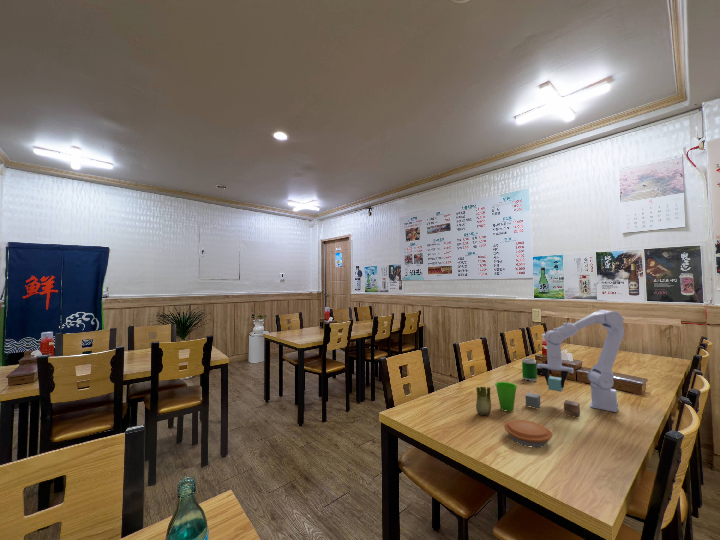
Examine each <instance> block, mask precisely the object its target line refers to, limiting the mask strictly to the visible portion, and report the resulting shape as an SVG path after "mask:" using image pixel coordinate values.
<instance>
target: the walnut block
mask: <svg viewBox="0 0 720 540" xmlns="http://www.w3.org/2000/svg"><path fill="white" fill-rule="evenodd" d="M580 406H581V405H580V402H578V401H572V400H567V399H565V400H564V402H563V415H564V414H566V415H565V416H567V415H570V416H569V417H572V416H575V417H574V418H576V417H579V418H580V414H581V407H580Z"/></svg>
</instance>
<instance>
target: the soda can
mask: <svg viewBox="0 0 720 540" xmlns="http://www.w3.org/2000/svg"><path fill="white" fill-rule="evenodd" d="M521 367H522V369H521V370H522V379H523V380H524V379H525V380H524V381H526V380H529V381H528V382H536V381H537V380H538V368H537V361H536V360H535V358H527V357H526V358H522V360H521ZM535 380H536V381H535Z"/></svg>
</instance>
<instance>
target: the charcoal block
mask: <svg viewBox="0 0 720 540" xmlns="http://www.w3.org/2000/svg"><path fill="white" fill-rule="evenodd" d="M524 396H525V407H526V406H531V407H535V408H539V409H540V407H541V406H540V405H541V395H540V394H536V393H532V392H528V393H526V394H525V395H524ZM539 406H540V407H539ZM531 407H530V408H531ZM535 408H534V409H535Z"/></svg>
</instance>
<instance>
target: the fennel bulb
mask: <svg viewBox="0 0 720 540" xmlns="http://www.w3.org/2000/svg"><path fill="white" fill-rule="evenodd" d="M475 389H476V402H475V408H476V409H475V410H476V412H477V413H478V414H479V415H480V414H482V415H481V416H485V415H487V416H489V415H491V412H492V411H491V410H492V400H491V387H488V386H476V388H475Z"/></svg>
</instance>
